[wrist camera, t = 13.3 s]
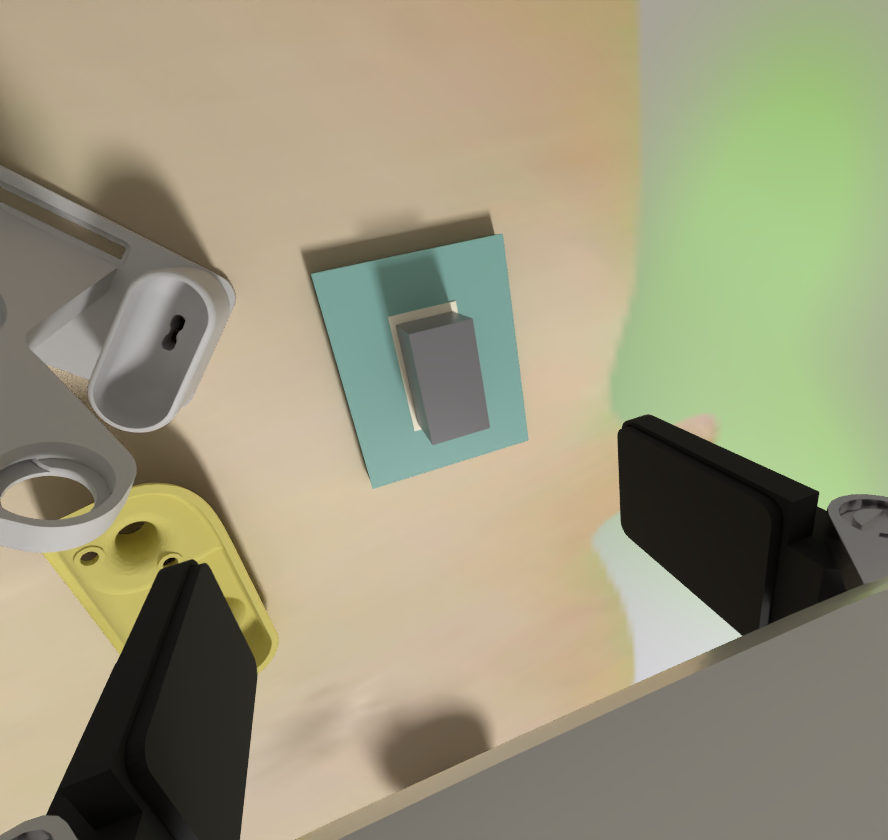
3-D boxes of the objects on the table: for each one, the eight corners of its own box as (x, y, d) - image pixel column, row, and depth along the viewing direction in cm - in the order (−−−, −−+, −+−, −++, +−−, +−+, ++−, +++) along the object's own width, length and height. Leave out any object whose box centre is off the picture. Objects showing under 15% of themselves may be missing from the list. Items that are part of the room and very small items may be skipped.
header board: (370, 480, 38) (377, 504, 35) (310, 273, 32) (311, 275, 28) (521, 434, 41) (542, 451, 37) (494, 234, 34) (517, 232, 31)
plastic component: (286, 651, 39) (163, 747, 33) (253, 606, 44) (141, 683, 38) (190, 458, 30) (-1, 545, 24) (163, 430, 35) (0, 496, 29)
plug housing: (418, 423, 36) (432, 445, 32) (395, 324, 33) (408, 334, 29) (469, 409, 37) (490, 428, 33) (452, 310, 34) (472, 318, 30)
